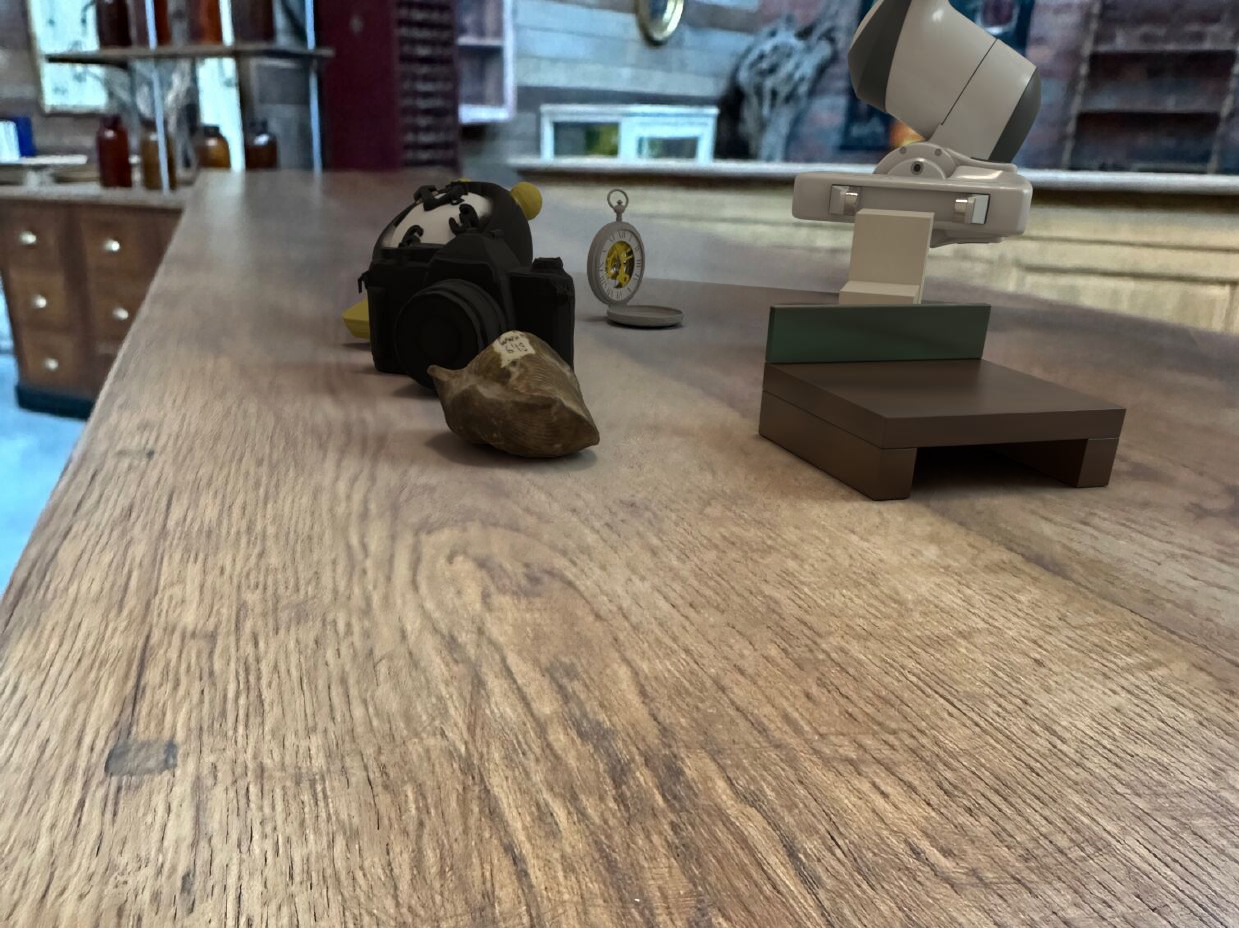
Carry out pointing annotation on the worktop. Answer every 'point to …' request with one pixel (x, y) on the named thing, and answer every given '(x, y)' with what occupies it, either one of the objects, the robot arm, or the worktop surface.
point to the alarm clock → (457, 225)
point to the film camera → (462, 303)
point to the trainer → (888, 257)
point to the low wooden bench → (918, 396)
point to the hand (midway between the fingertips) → (904, 207)
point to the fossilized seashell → (517, 399)
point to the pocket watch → (623, 273)
